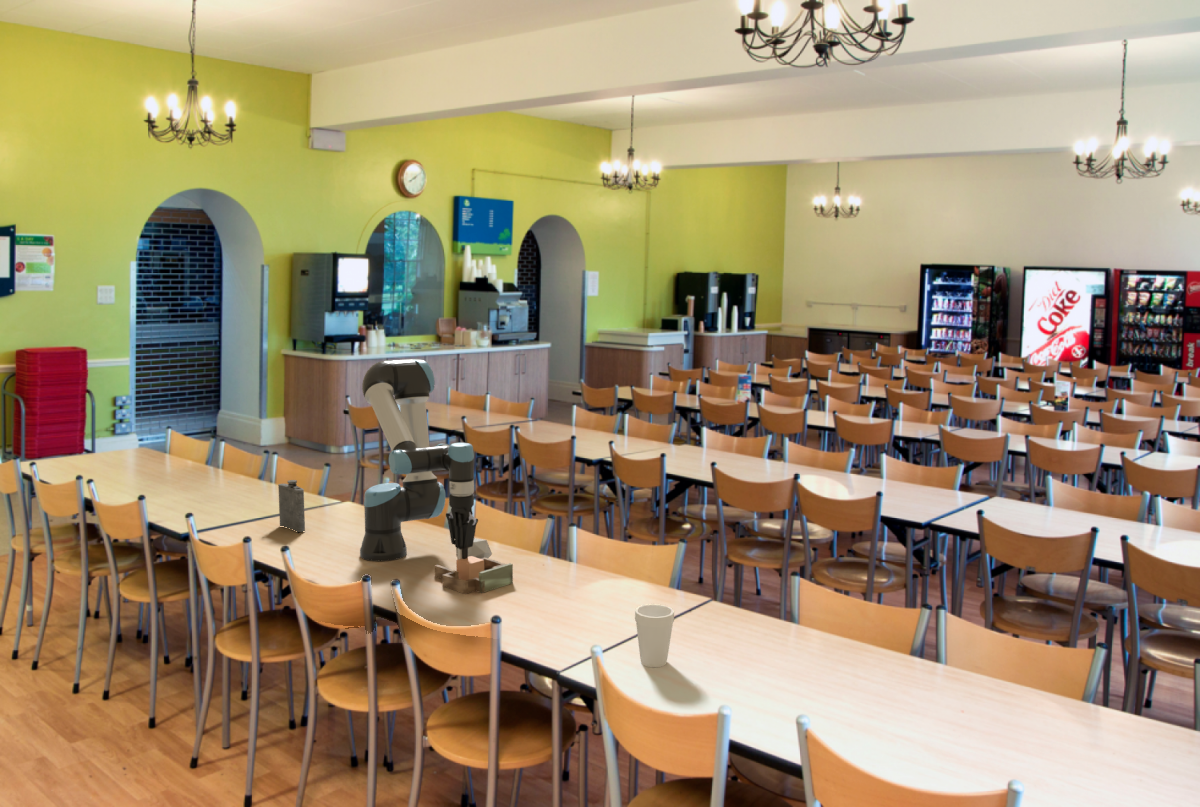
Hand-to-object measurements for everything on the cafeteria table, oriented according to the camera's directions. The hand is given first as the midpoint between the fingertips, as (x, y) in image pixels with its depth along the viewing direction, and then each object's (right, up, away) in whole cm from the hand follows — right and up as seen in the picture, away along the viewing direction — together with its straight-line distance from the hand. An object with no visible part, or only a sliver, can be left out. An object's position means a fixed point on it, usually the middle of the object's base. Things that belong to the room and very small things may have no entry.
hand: (462, 568), depth 293 cm
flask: (-69, +5, +51) cm, 86 cm away
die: (+3, -1, +14) cm, 14 cm away
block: (+3, -3, -2) cm, 5 cm away
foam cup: (+56, -12, -63) cm, 85 cm away
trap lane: (+4, -3, -3) cm, 6 cm away
